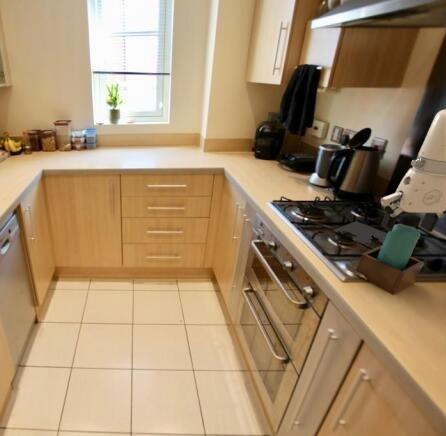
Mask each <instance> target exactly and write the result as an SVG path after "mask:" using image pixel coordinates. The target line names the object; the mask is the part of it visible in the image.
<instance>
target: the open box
mask: <svg viewBox="0 0 446 436" xmlns="http://www.w3.org/2000/svg"><path fill="white" fill-rule="evenodd" d="M381 248H382V245H381V246H379V247H376V248H374V249H370V250H368V251H366V252H363V253H361V255H360V258H359V260H358V263H357V264H356V267H355V270H356V271H357V272H359V273H361V274H363V275H364V276H365V277H366V278H367V281H366V282H368V283H370V284H372V285H374V286H376V287H378V288H379V289H382V290H383V291H385V292H388V293H389V294H391V295H393V296H394V295H396V294H398V293H400V292H401V291H403V290H405V289H407V288H408V287H410V286H411V285H414V284H415V283H416V280H417V278H418V277H419V274H420V273H421V270H422V269H423V267H424V265H425V262H424V261H421V260H419V259H418V258H415V257H412V256H411V258H409V259H410V260H409V261H408V263H407V265H406V267H405V269H404V271H401V270H399V269H396V268H394V267H392V266H390V265H388V264H386V263H384V262H381V261H379V260H377V257H378V255H379V254H378V253H379V252H380V250H381Z"/></svg>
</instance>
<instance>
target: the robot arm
mask: <svg viewBox="0 0 446 436" xmlns="http://www.w3.org/2000/svg"><path fill="white" fill-rule="evenodd" d="M410 166H411V167H410V168H409V169H408V170H407V172H406V173H405V175H404V176H403V177H402V179H401V181H400V183H399V184H398V187H397V188H396V191H395V192H394V193H392V194H391V193H390V194H389V195H385V196H384V197H381V198H380V205H381V207H380V208H381V209H382V210H383V212H384V213H385V214H384V217H383V219H382V221H381V224H380V226H381V227H382V228H383V229H385V230H386V231H387V232H388V231H392V230H393V227H394V225H396V223H397V222H398V217H397V216H399V215H401V213H403V212H405V213H409V214H417V213H418V214H424V216H423V218H422V219H421V221H420V224H419V227H420V228H422V229H423V230H424V231H426V232H428V233H432V232H433V231H434V229H435V227H436V225H437V223H438V221H439V220H440V219H442V218H443V217H444V216H445V214H446V109H442V110H439V111H438V112H437V113H436V114H435V116H434V118H433V119H432V122H431V124H430V127H429V129H428V131H427V134H426V135H425V138H424V141H423V143H422V145H421V147H420V149H419V152H418V154H417V155H416V158H415V159H413V160H412V161H411V162H410Z"/></svg>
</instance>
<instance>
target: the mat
mask: <svg viewBox="0 0 446 436" xmlns="http://www.w3.org/2000/svg"><path fill="white" fill-rule="evenodd" d="M338 231H340V232H342V231H348V232H350V233H352V234H354V235H357V236H356V237H357V238H356V241H358V242H360V243H364V241H365V242H368V243H371V240H370V239H372V237H371V236H372V235H373V236H374V237H375V238H378V239H379V241H380V242H382V244H383V243H384V241H385V239H386V236H387V234H388V232H385V231H382V230H380V229H377V228H375V227H372V226H370V225H367V224H365V223H362V222H359V221H357V220H356V221H353V222H350V223H348V224H345V225H343V226H340V227H337V228H334V229H333V230H332V233H335V234H337V232H338Z"/></svg>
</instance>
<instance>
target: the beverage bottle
mask: <svg viewBox="0 0 446 436" xmlns="http://www.w3.org/2000/svg"><path fill="white" fill-rule="evenodd" d="M397 222H398V223H397V224H396V223H395V225H394V227H393V230H392V231H388V230H387V236H386V239H385V241H384V243H383V245H382V248H381V250H380V252H379V253H378V254H379V255H378V257H377V260H379V261H381V262H384V263H386V264H388V265H390V266H392V267H394V268H396V269H399V270H401V271H404V269H405V267H406V265H407V263H408V261H409V260H410V259H409V258H411V257H412V254H413V252H414V250H415V247H416V244H418V242H419V241H418V240H419V239H420V238H421V233H420V231H419V230H418V229H417V227H420V224H421V222H422V218H421V217H420V216H419V215H416V214H415V213H410V212H405V213H402V214H400V216H399V218H398V219H397Z"/></svg>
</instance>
